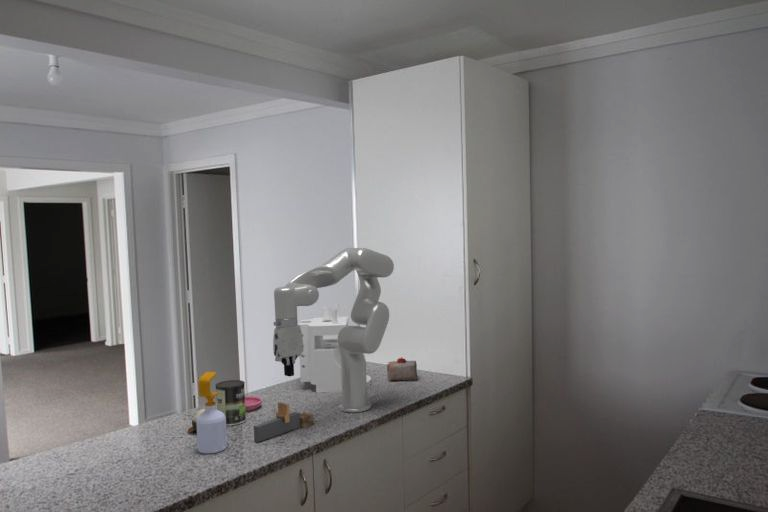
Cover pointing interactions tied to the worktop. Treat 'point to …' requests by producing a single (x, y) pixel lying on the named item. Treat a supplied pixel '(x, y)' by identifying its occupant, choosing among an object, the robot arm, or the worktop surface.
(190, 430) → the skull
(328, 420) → the worktop surface
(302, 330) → the coffee machine
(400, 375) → the food item
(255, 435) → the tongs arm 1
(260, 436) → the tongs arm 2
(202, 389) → the spray bottle
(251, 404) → the saucer
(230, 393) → the coffee can
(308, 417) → the block
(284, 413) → the tan wooden block
